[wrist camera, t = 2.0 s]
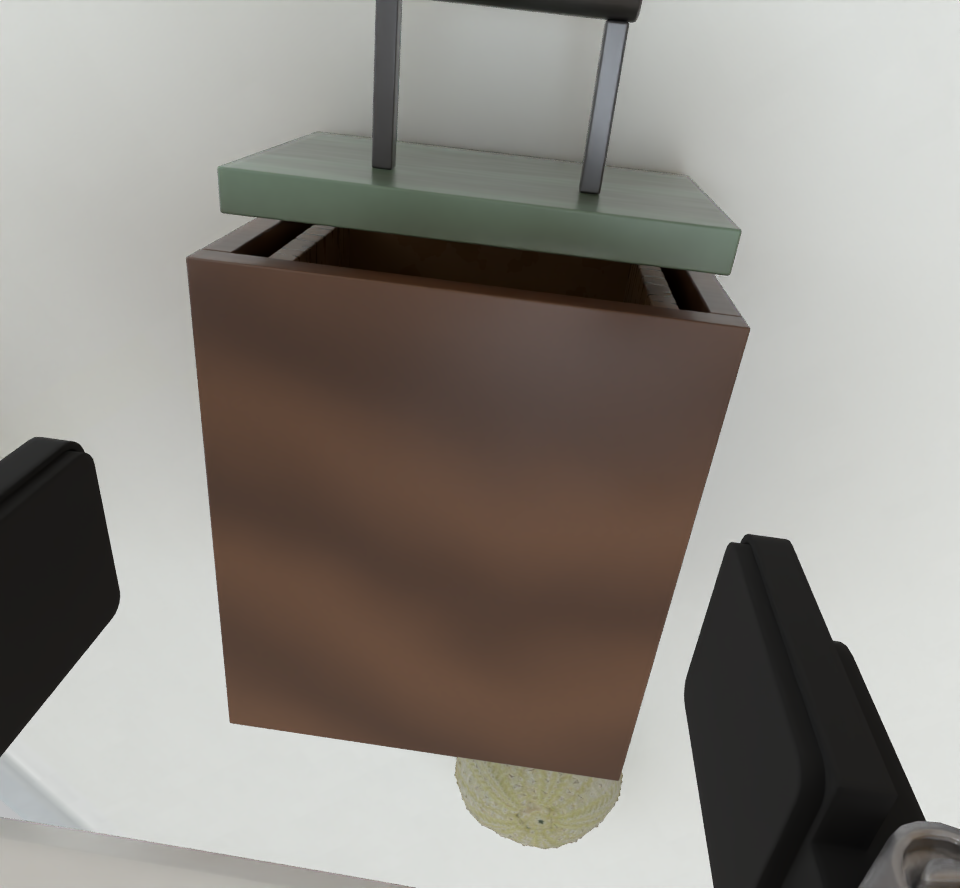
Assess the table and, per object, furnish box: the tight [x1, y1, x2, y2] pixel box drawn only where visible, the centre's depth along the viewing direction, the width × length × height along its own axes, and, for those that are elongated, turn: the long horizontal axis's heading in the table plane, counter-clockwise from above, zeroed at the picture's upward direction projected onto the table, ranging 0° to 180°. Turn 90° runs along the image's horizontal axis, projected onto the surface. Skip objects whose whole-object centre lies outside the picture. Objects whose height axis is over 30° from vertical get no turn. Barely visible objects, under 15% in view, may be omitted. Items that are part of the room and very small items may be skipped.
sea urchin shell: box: [455, 757, 623, 849], centre depth 41 cm, size 9×8×8 cm
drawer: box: [217, 0, 741, 309], centre depth 25 cm, size 22×14×9 cm, turn 174°
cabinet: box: [186, 217, 750, 781], centre depth 28 cm, size 18×15×11 cm
